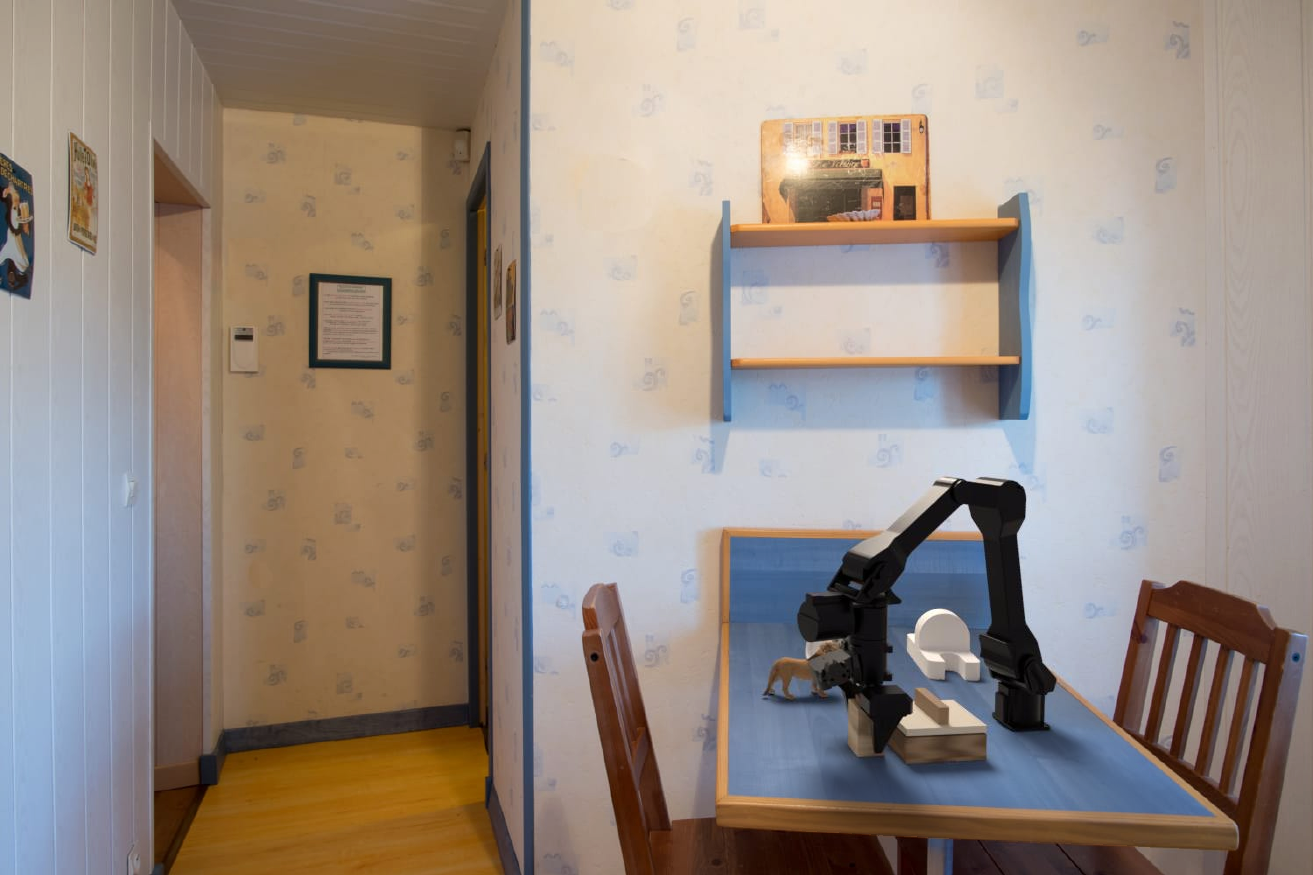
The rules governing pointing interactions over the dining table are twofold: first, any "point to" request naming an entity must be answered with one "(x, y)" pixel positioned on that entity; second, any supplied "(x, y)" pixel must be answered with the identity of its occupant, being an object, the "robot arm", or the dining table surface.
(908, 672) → the dining table surface
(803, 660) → the lion figurine
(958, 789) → the dining table surface
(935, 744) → the wooden box
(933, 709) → the lid
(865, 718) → the wooden block
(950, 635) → the u-slot stand
